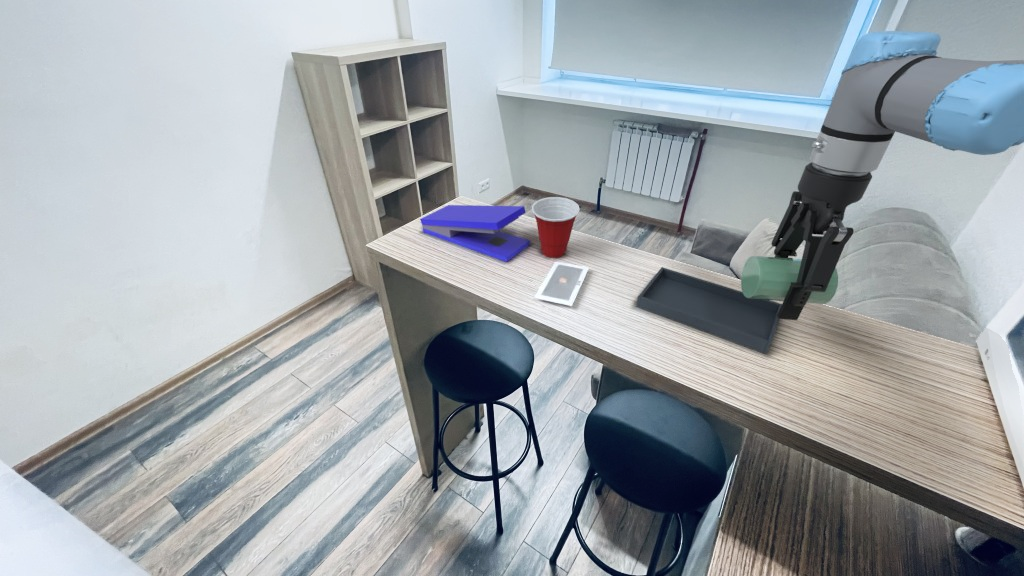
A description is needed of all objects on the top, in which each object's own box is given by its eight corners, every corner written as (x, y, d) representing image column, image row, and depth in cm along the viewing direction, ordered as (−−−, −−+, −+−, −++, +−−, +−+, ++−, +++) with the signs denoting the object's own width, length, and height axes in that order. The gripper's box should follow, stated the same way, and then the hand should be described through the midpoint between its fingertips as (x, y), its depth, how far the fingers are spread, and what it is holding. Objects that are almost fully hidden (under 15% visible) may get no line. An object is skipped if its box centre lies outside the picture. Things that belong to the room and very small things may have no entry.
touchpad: (533, 302, 82) (533, 293, 81) (555, 265, 94) (555, 257, 92) (571, 310, 80) (572, 301, 79) (588, 271, 91) (589, 263, 90)
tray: (779, 314, 78) (783, 304, 76) (766, 354, 69) (771, 343, 68) (659, 276, 89) (661, 266, 88) (636, 306, 80) (638, 296, 79)
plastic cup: (528, 262, 95) (528, 215, 88) (533, 240, 104) (534, 195, 97) (575, 265, 93) (579, 218, 86) (576, 243, 102) (580, 198, 95)
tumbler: (751, 247, 66) (825, 252, 64) (737, 279, 71) (806, 284, 69) (763, 274, 61) (844, 280, 60) (747, 306, 66) (822, 313, 64)
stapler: (505, 263, 95) (503, 224, 89) (420, 232, 108) (414, 197, 103) (531, 243, 102) (532, 206, 97) (449, 217, 116) (445, 183, 110)
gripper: (782, 145, 63) (737, 270, 76) (844, 193, 47) (774, 341, 60) (835, 146, 62) (781, 273, 75) (918, 197, 46) (830, 346, 59)
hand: (778, 303), depth 68 cm, fingers closed on tumbler, 7 cm apart
